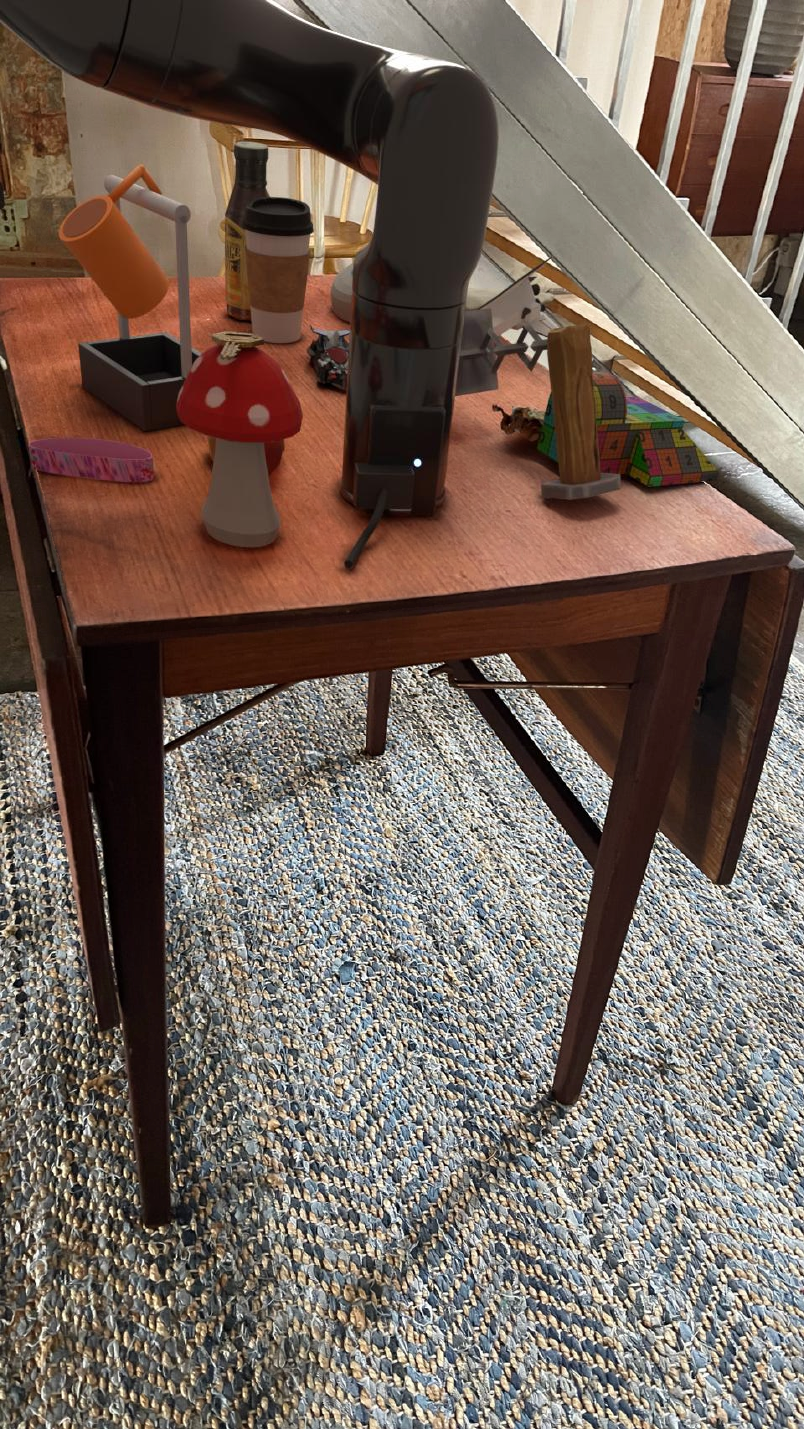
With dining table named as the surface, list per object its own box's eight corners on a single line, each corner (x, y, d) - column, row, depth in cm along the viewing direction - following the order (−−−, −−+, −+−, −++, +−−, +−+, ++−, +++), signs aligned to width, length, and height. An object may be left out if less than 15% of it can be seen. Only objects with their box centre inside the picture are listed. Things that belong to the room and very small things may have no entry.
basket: (234, 415, 104) (231, 202, 92) (144, 431, 99) (129, 207, 87) (168, 373, 112) (158, 173, 101) (82, 386, 107) (60, 176, 95)
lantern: (380, 492, 112) (572, 501, 89) (358, 328, 107) (557, 291, 83) (436, 480, 116) (634, 485, 92) (417, 321, 111) (623, 284, 87)
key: (200, 358, 68) (200, 352, 68) (214, 335, 75) (214, 330, 75) (257, 362, 69) (257, 356, 68) (265, 339, 76) (265, 334, 75)
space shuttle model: (457, 319, 114) (510, 393, 116) (564, 239, 127) (609, 306, 130) (383, 384, 126) (431, 450, 129) (487, 305, 140) (530, 365, 142)
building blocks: (602, 490, 94) (627, 399, 89) (536, 450, 100) (556, 362, 96) (716, 480, 101) (745, 395, 96) (647, 443, 108) (671, 361, 103)
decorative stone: (494, 289, 134) (490, 250, 130) (373, 338, 129) (366, 298, 125) (423, 259, 146) (417, 222, 143) (310, 302, 141) (302, 266, 138)
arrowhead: (376, 277, 143) (540, 272, 149) (375, 302, 145) (537, 296, 151) (402, 304, 134) (575, 297, 140) (400, 331, 136) (571, 323, 143)
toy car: (354, 359, 122) (356, 324, 120) (371, 394, 113) (374, 356, 110) (303, 358, 121) (304, 322, 118) (316, 393, 111) (318, 355, 109)
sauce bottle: (222, 309, 134) (218, 137, 122) (268, 309, 136) (270, 140, 124) (230, 324, 129) (228, 146, 117) (279, 324, 131) (281, 149, 119)
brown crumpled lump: (522, 388, 110) (539, 443, 112) (480, 409, 101) (499, 469, 102) (581, 368, 106) (598, 425, 108) (544, 387, 97) (562, 450, 99)
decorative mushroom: (157, 532, 82) (145, 341, 73) (225, 497, 88) (222, 318, 79) (257, 571, 78) (258, 375, 69) (321, 532, 84) (329, 347, 75)
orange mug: (137, 326, 97) (75, 247, 90) (109, 309, 100) (48, 232, 93) (211, 252, 98) (156, 168, 91) (181, 238, 101) (126, 156, 94)
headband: (40, 431, 91) (43, 454, 92) (23, 446, 88) (26, 470, 89) (160, 446, 91) (161, 469, 92) (147, 462, 88) (148, 486, 89)
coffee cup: (315, 330, 130) (320, 201, 121) (304, 350, 123) (307, 214, 114) (250, 323, 130) (250, 193, 121) (235, 341, 123) (233, 206, 115)
